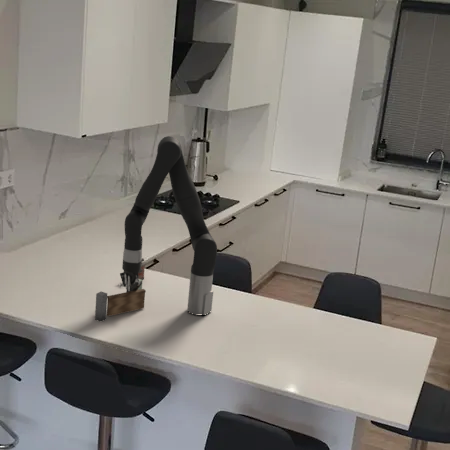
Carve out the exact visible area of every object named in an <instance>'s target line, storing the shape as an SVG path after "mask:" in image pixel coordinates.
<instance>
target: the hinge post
mask: <svg viewBox="0 0 450 450" xmlns="http://www.w3.org/2000/svg"><path fill="white" fill-rule="evenodd" d="M107 296H108V292H105V291H99V292H97V293H96V294H95V311H94V313H95V315H94V320H95V321H97V320H98V321H97V322H100V321H102V322H104V321H106V320H107V301H108V299H107ZM105 319H106V320H105ZM103 320H104V321H103Z"/></svg>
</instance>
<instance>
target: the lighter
mask: <svg viewBox="0 0 450 450" xmlns="http://www.w3.org/2000/svg"><path fill="white" fill-rule="evenodd" d="M145 267H146V262H145V258H144V257H142V261H141V270H140V271H139V273H138V275H139V278H138V279H141V280H142V281H143V280H145Z"/></svg>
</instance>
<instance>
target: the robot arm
mask: <svg viewBox="0 0 450 450" xmlns="http://www.w3.org/2000/svg"><path fill="white" fill-rule="evenodd" d="M181 145H182V144H181V143H180V141H179V140H178V139H177V138H175V137H173V136H169V135H168V136H165V137H163V138H162V139H160V141H159V142H158V145H157V150H156V153H157V154H156V157H155V160H154V163H153V166H152V168H151V170H150V172H149V174H148V175H147V177H146V179H144V182H143V183H142V185H141V187H140V189H139V191H138V193H137V195H136V197H135V199H134V204H133V205H132V208H131V210H130V211H129V212H128V214H127V215H126V216H125V219H124V236H125V237H124V246H123V248H124V249H123V252H122V253H123V255H122V264H121V265H122V270H123V272H120V273H119V274H120V280H121V283H122V286H123V287H124V288H125V290H126V292H130V291H135V290H137V289H138V288H139V287H140V285H141V284H142V285H143V280H142V281H139V279H138V278H139V275H138V273H139V271H140V270H141V261H142V258H143V235H142V230H143V229H142V228H143V225H144V224H145V222H146V220H147V217H148V215H149V213H150V210H151V208H152V207H153V205H154V203H155V201H156V199H157V196H158V195H159V192H160V190H161V188H162V186H163V184H164V182H165V180H166V178H167V176H168V175H169V179H170V180H169V181H170V186H171V190H172V194H173V197H174V199H175V203H176V205H177V208H178V211H179V213H180V215H181V217H182V219H183V221H184V222H185V225H186V226H187V229H188V233H189V234H188V235H189V238H190V242H191V246H192V250H193V261H192V265H191V267H190V274H189V275H190V276H189V277H190V279H189V287H188V288H189V289H188V298H187V309H186V311H187V310H188V311H189V312H190V313H193V314H202V315H205V314H207V313H209V312H210V311H211V312H212V311H213V310H212V309H213V307H212V306H213V299H214V291H213V290H212V288H213V278H214V272H215V271H214V270H215V268H216V263H217V262H216V261H217V253H218V246H217V243H216V241H215V239H214V238H213V235H212V234H211V233H210V231H209V229H208V227H207V223H206V222H205V219H204V213H203V207H202V202H201V200H200V196H199V194H198V190H197V188H196V186H195V184H194V181H193V178H192V177H191V175H190V173H189V172H190V171H188V168H187V165H186V163H185V159H184V155H183V150H182V146H181ZM188 311H187V312H188ZM189 312H188V313H189ZM190 313H189V314H190ZM193 314H192V315H193ZM209 314H210V313H209ZM207 315H208V314H207Z"/></svg>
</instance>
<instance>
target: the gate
mask: <svg viewBox="0 0 450 450" xmlns="http://www.w3.org/2000/svg"><path fill="white" fill-rule="evenodd" d="M146 292H147V291H146V289H144V288H142V289H140V290H135V291H130V292H121V293H117V294H112V295H111V294H110V295H107V309H106V317H111V316H115V315H119V314H124V313H129V312H133V311H138V310H142V309H145V297H146Z"/></svg>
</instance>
